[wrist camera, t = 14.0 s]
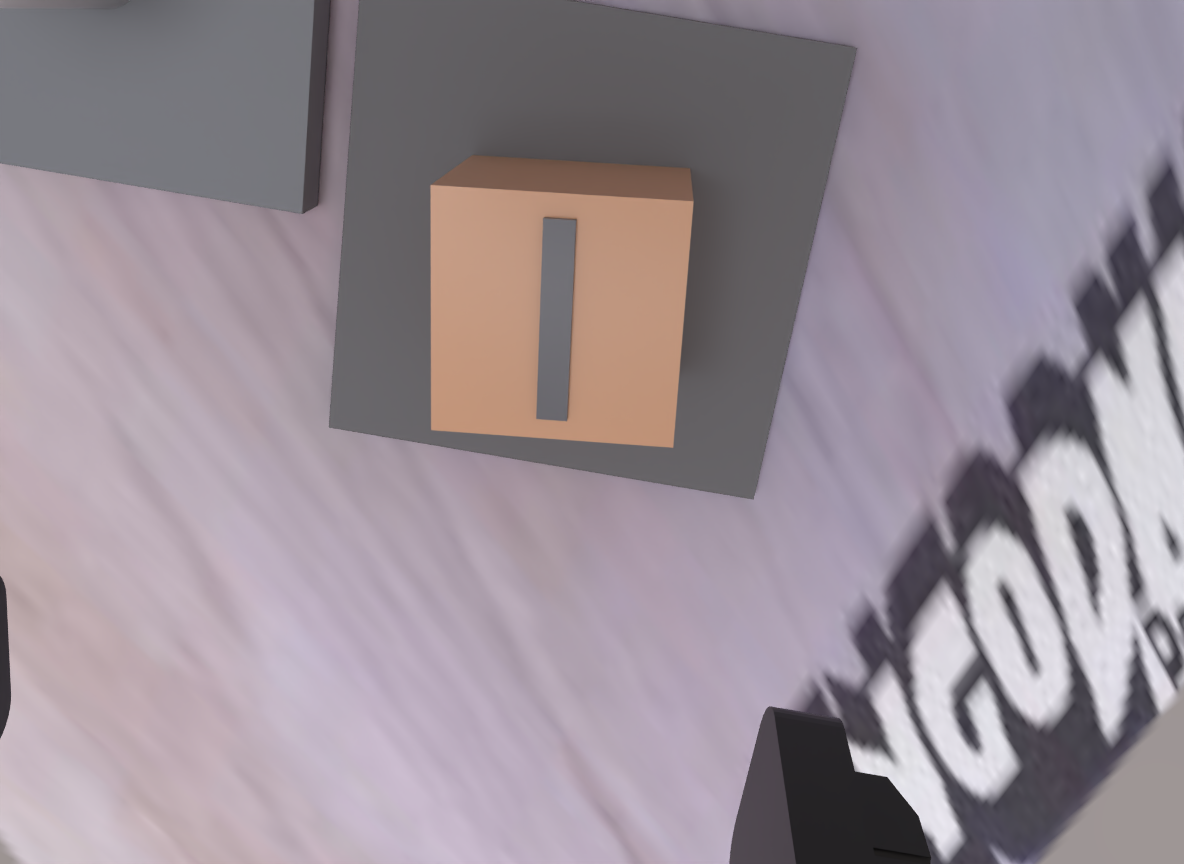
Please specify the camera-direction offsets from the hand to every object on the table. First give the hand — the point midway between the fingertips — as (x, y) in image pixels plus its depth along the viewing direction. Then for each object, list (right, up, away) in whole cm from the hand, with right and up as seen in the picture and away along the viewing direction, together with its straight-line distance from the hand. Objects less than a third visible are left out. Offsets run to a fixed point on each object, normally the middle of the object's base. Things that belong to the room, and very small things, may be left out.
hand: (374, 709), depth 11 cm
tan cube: (+2, +8, +22) cm, 23 cm away
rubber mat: (+2, +9, +22) cm, 24 cm away
